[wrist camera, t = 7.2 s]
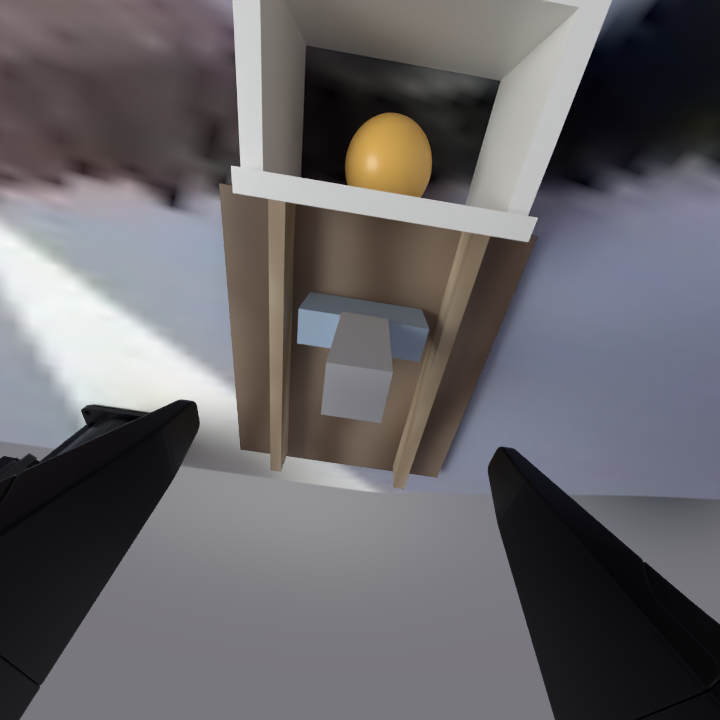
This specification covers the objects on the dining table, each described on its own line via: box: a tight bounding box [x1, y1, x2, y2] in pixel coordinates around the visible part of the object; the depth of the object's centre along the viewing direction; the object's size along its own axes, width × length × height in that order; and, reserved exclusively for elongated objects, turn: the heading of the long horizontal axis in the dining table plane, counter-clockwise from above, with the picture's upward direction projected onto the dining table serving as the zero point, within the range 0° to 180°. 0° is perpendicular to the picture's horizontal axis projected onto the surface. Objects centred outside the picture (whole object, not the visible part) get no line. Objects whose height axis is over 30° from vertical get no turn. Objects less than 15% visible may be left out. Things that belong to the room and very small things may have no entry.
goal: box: [231, 0, 612, 242], centre depth 12 cm, size 11×7×7 cm, turn 82°
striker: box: [297, 292, 429, 423], centre depth 14 cm, size 7×2×8 cm, turn 82°
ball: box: [345, 113, 432, 198], centre depth 14 cm, size 4×4×4 cm
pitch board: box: [219, 184, 537, 489], centre depth 20 cm, size 17×20×3 cm
